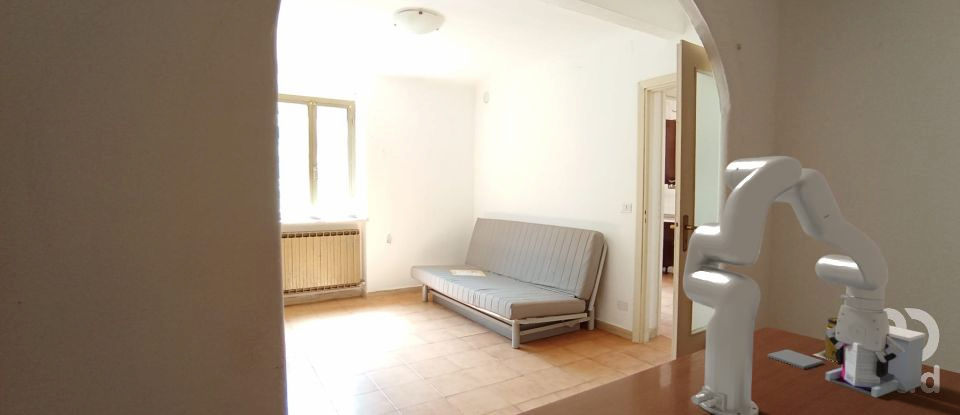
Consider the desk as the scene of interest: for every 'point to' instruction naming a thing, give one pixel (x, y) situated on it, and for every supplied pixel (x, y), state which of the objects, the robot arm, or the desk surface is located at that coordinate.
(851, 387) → the bar
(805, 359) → the coaster
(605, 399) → the desk surface
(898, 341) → the dispenser
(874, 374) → the supplement box
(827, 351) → the condiment
